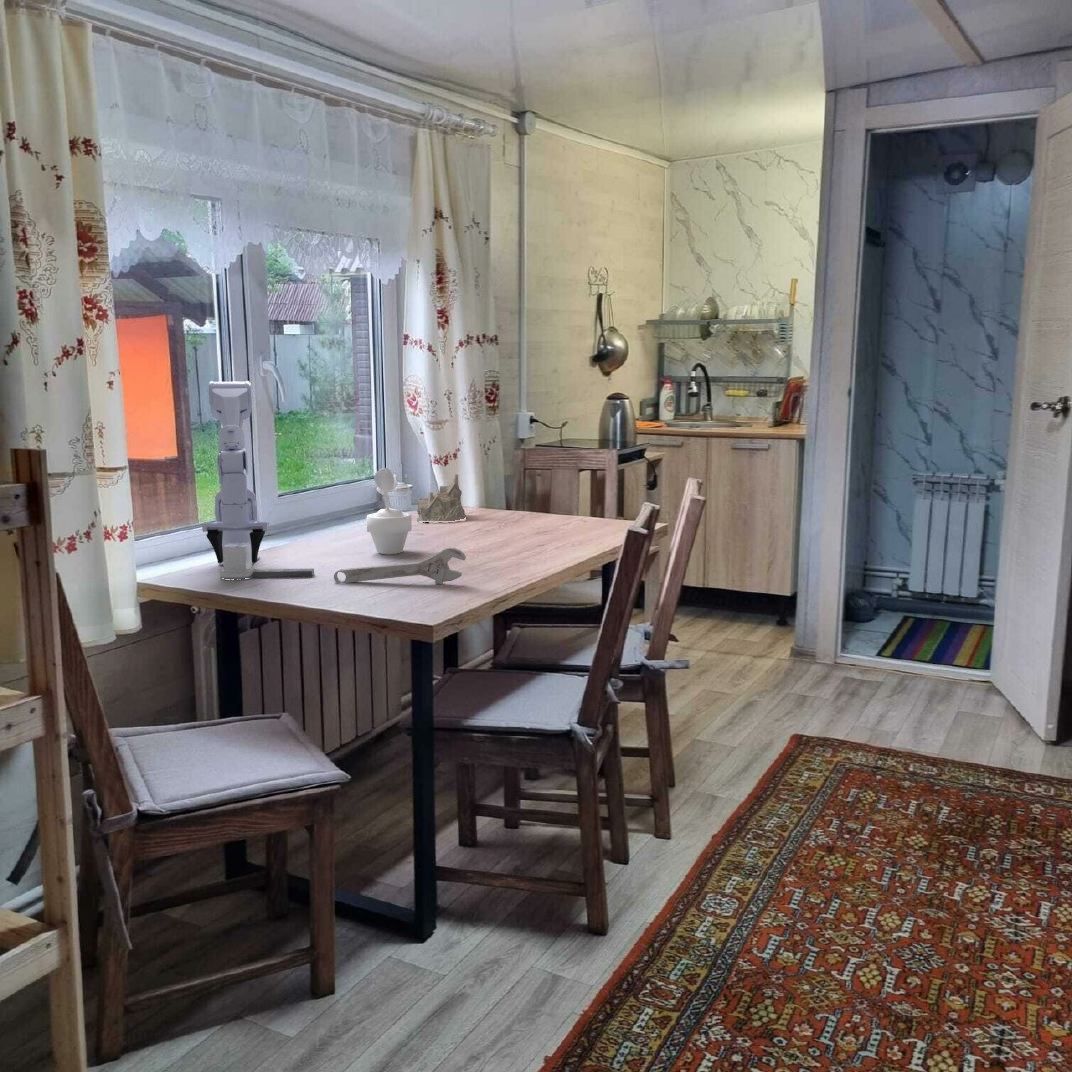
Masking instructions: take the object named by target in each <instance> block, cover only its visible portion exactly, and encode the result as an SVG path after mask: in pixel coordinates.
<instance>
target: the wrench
mask: <svg viewBox="0 0 1072 1072" xmlns="http://www.w3.org/2000/svg"><path fill="white" fill-rule="evenodd" d="M452 558H454V559H457V560H458V559H459V560H461V561H465V560H466V558H467V557H466V554H465V553H464V552H463V551H462V550H461V549H459V548H457V547H447V548H444V549H443V550H440V552H438V553H436V554H434V555H432V556H431V557H428V558H425V559H423V560H421V561H417V562H416V561H415V562H408V563H407V562H405V563H396V564H385V565H376V566H375V565H373V566H365V567H354V568H352V567H351V568H341V569H339V570H337V571H335V573H334V575H333V580H334V581H335V583H337V584H340V583H341V584H348V583H357V582H358V583H359V582H367V581H375V580H385V579H394V578H403V577H414V576H422V577H426V578H429V579H432V580H434V584H435V583H436V585H440V584H442V583H445V582H452V581H455V580H456V579H459V578H461V577H462V575H463V573H462V571H459V570H455V569H451V568H450V566H449V564H448V562H449V561H450V560H451V559H452ZM338 573H343V574H344V576H345V579H344V580H341V579H339V577H338ZM442 585H443V584H442Z"/></svg>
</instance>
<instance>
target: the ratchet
mask: <svg viewBox="0 0 1072 1072" xmlns="http://www.w3.org/2000/svg"><path fill="white" fill-rule="evenodd" d="M314 576H315V568H257V569H256V568H254V567H252V569H250V570H249V571H248V572H247V573H224V569H221V570H220V571H219V578H224V579H234V580H237V579H245V578H252V579H278V578H279V579H280V578H281V579H285V578H286V579H289V578H292V579H293V578H295V579H296V578H297V579H298V578H313V577H314ZM237 581H238V580H237Z"/></svg>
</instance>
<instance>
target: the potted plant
mask: <svg viewBox="0 0 1072 1072" xmlns="http://www.w3.org/2000/svg"><path fill="white" fill-rule="evenodd" d="M399 468H401V462H400V458H399ZM391 470H392V469H389V468H388V467H385V468H384V467H383V468H380V469H379V470H377V471H376V472H374V473H375V474H374V476H373V477H374V478H373V480H374V482H375V484H376V486H377V487H376V492H377V493H378V494H379V495H382V494H383V499H384V504H385V508H381V509H379V510H378V511H377V512H374V513H370V514H367V515H366V532H368V533H370V535H371V538H372V541H373V544H374V546H375V549H376V552H377V553H378V554H381V555H396V554H397V553H398V554H401V553H402V552H403V551H404V548H405V545H406V540H407V538H408V534H409V532H411V531H412V529H413V528H412V527H413V525H412V524H413V523H412V520H413V519H412V513H410V512H408V513H407V512H403V511H402V510H401V509H400V510H399V509H396V508H391V500H390V496H389V494H388V493H390V492H393V491H394V490H395V489H396V487H397V486H398V481H397V478H396V474H395V473H393V472H392V471H391ZM405 477H407V474H405ZM400 552H401V553H400ZM398 554H397V555H398Z"/></svg>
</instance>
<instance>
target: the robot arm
mask: <svg viewBox="0 0 1072 1072" xmlns="http://www.w3.org/2000/svg"><path fill="white" fill-rule="evenodd" d="M207 385H208V386H207V387H208V401H209V402H208V403H209V407H210V413H211V417H212V418H214V419H215V420H218V421H219V422H220V425H221V428H220V429H219V431H218V432H217V433H218V452H217V453H216V467H217V469H216V470H217V474H218V481H219V482H218V483H219V484H220V490H219V491H217V492H216V494H215V496H214V501H215V502H214V517H215V518H214V519H215V521H204V522H202V524H201V527H202V532H203V533H205V532H207V533H206V538H207V539H208V541H209V543H210V545H211V547H212V548H213V550H214V554H215V556H216V559H217V563H218V566H224V564H223V546H225V545H226V544H228V543H250V546H251V565H253V564H255V563H257V562H258V561H259V559H260V558H261V556H260V555H259V551H260V547H261V543H262V542H263V541H262V540H263V539H264V536H265V534H266V532H268V531H269V530H270V525H269V524H270V523H269V521H267V520H265V521H260V520H258V508H257V506H258V505H257V498H256V497H257V496H256V494H255V492H254V491H253V490H251V489H250V488H249V487H248V485H247V484H248V482H247V475H248V472H249V469H248V468H249V466H248V453H247V451H246V444H245V443H246V442H245V441H246V440H245V432H244V430H243V428H242V427H243V423H244V420H246V419H249V418H250V417H251V413H252V389H251V387H252V385H251V382H250V381H249V380H246V381H209V383H208V384H207ZM244 470H245V471H246V472H245V473H246V474H245V473H244Z"/></svg>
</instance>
